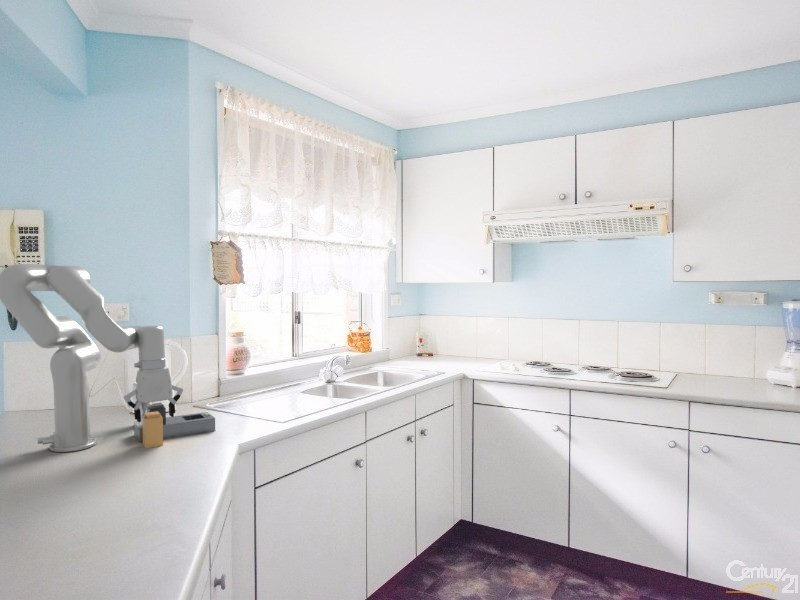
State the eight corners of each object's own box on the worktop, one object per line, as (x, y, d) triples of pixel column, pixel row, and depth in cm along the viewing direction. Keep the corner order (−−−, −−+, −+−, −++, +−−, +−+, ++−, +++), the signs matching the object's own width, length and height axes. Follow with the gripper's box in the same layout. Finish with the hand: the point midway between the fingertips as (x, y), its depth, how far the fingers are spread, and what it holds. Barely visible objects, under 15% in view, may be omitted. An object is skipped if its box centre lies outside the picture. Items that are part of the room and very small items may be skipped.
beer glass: (158, 422, 203) (157, 381, 203) (147, 427, 196) (146, 385, 196) (139, 422, 204) (139, 381, 203) (128, 427, 197) (128, 385, 196)
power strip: (139, 442, 179) (138, 409, 179) (133, 435, 187) (133, 404, 187) (215, 430, 193) (214, 400, 192) (207, 424, 201) (206, 395, 201)
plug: (145, 448, 173) (145, 416, 173) (142, 444, 177) (142, 412, 177) (163, 445, 176) (162, 414, 176) (159, 441, 180) (159, 410, 180)
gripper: (124, 369, 168) (127, 426, 169) (184, 363, 178) (186, 416, 178) (120, 367, 174) (123, 421, 175) (178, 360, 184) (181, 412, 184)
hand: (155, 418), depth 176 cm, fingers open, 9 cm apart
